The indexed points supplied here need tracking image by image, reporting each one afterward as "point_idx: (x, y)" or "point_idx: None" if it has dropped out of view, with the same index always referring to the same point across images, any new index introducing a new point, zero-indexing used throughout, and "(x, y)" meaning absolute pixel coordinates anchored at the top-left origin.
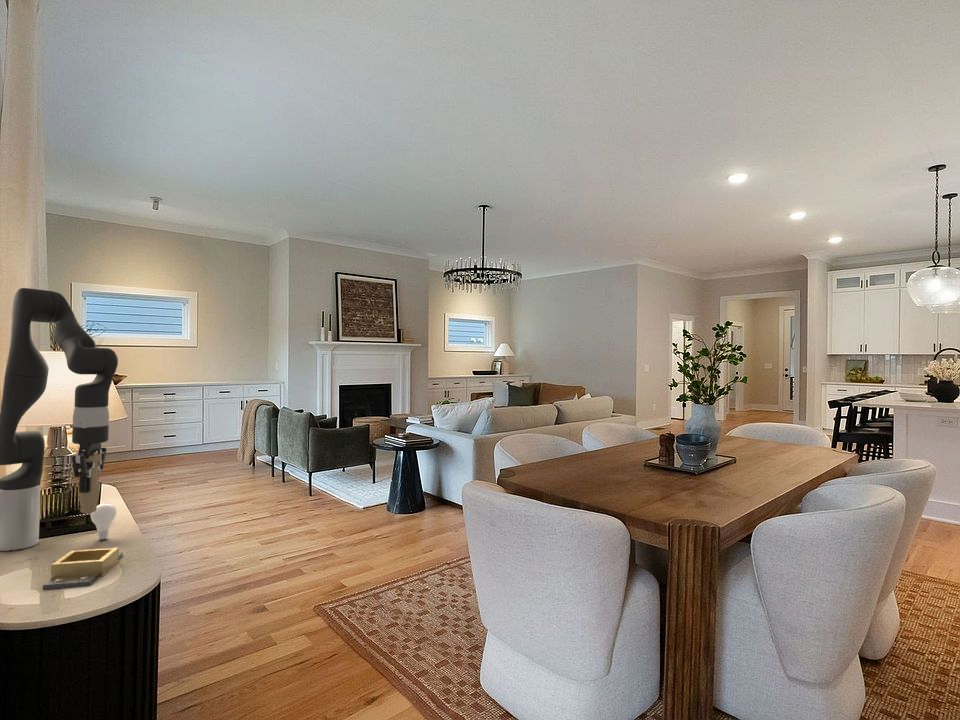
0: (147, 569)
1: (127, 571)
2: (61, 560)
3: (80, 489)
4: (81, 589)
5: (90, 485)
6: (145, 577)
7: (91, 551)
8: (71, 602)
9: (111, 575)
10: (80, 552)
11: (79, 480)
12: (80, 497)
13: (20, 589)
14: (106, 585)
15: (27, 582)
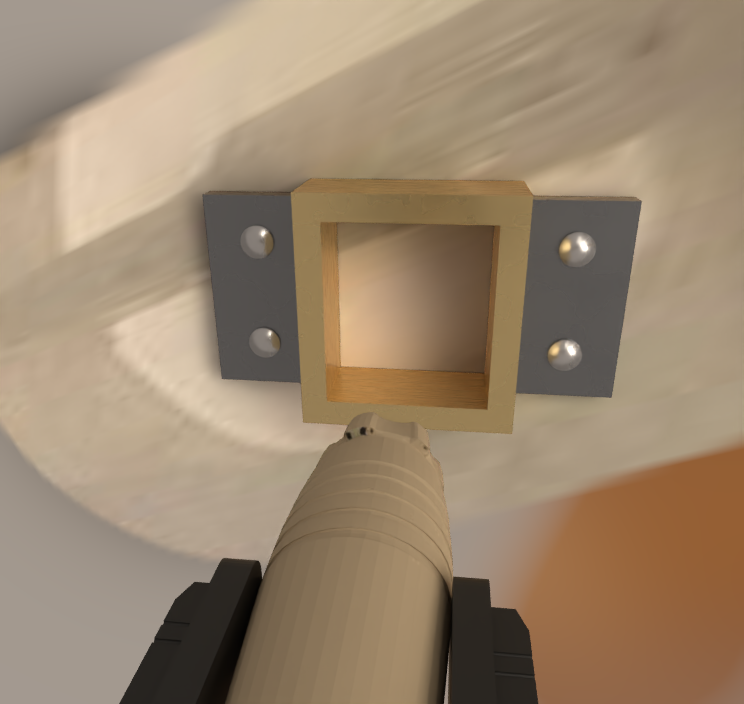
0: None
1: None
2: (352, 218)
3: (180, 603)
4: (191, 352)
5: None
6: None
7: (493, 313)
8: (70, 363)
9: None
10: (497, 257)
11: (162, 680)
12: (302, 503)
13: (224, 80)
14: (221, 429)
15: (314, 64)
